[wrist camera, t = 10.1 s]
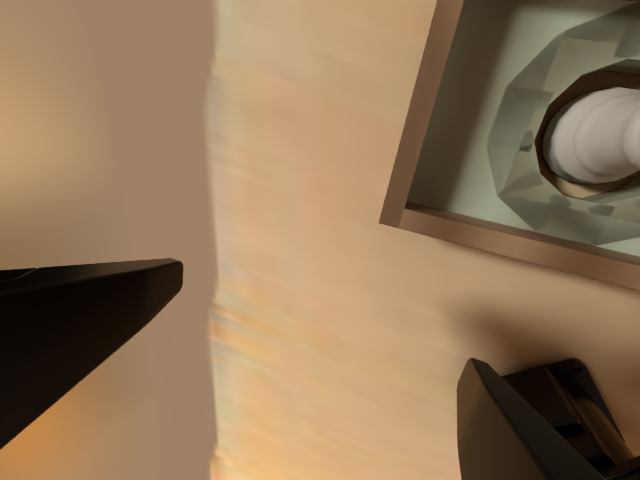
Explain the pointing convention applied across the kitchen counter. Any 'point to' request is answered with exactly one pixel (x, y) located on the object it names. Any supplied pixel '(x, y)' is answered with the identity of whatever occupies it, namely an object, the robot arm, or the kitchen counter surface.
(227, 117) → the kitchen counter surface
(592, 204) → the bore tray
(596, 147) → the rook chess piece
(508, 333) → the kitchen counter surface
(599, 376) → the kitchen counter surface
